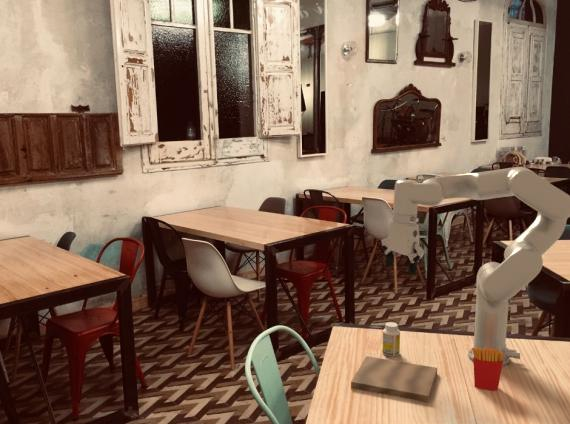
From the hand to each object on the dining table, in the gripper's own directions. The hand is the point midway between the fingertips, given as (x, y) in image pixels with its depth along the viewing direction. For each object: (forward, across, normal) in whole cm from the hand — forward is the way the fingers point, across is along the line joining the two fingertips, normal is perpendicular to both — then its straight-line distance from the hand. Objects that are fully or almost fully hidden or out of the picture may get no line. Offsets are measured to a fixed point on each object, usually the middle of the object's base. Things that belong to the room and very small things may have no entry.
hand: (400, 270), depth 181 cm
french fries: (+27, -33, -2) cm, 43 cm away
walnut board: (+28, -15, +16) cm, 35 cm away
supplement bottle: (+28, -1, +3) cm, 28 cm away
